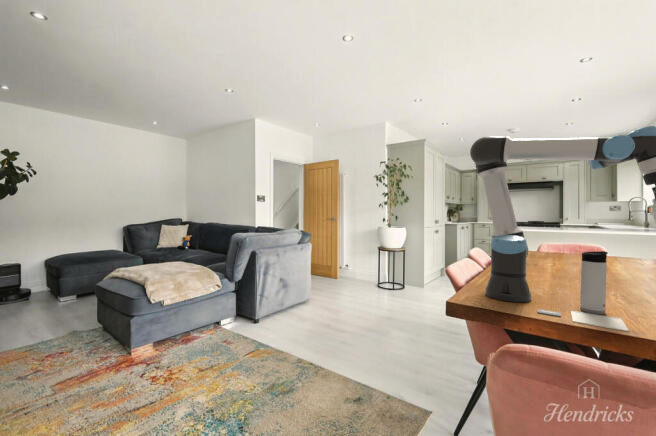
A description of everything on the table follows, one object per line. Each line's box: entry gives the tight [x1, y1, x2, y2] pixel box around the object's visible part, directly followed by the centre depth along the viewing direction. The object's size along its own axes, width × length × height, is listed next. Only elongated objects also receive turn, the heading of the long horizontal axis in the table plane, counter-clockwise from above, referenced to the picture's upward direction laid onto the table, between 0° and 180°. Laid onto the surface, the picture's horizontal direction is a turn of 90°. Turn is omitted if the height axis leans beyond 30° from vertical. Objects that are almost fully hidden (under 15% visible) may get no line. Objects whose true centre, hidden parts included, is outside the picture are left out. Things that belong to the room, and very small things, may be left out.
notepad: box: [570, 310, 630, 332], centre depth 91 cm, size 12×12×1 cm
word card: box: [537, 308, 562, 318], centre depth 97 cm, size 6×4×1 cm, turn 53°
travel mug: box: [579, 250, 608, 315], centre depth 100 cm, size 6×7×20 cm
